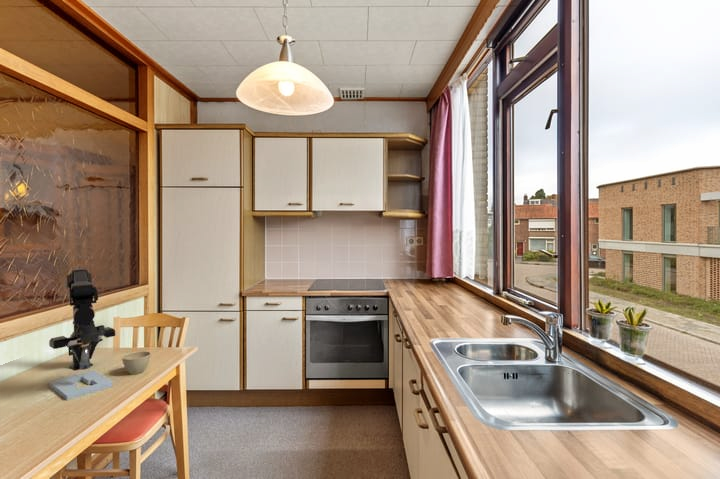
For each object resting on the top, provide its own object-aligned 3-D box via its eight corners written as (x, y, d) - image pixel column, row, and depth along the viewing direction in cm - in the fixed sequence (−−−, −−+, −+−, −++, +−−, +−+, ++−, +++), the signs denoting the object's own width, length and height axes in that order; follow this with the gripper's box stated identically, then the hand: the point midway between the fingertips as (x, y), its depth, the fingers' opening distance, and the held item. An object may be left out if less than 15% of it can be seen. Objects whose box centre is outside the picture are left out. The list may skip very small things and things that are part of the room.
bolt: (76, 368, 132) (75, 343, 132) (89, 365, 135) (88, 340, 135) (80, 371, 130) (79, 345, 129) (93, 367, 133) (92, 342, 133)
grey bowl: (137, 377, 142) (137, 360, 142) (116, 376, 144) (115, 358, 144) (156, 368, 152) (156, 351, 151) (136, 366, 154) (136, 350, 153)
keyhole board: (49, 386, 135) (49, 381, 135) (93, 373, 146) (93, 369, 146) (67, 400, 123) (67, 395, 123) (113, 385, 135) (113, 381, 135)
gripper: (58, 327, 120) (59, 373, 120) (120, 316, 135) (122, 357, 135) (48, 322, 126) (49, 366, 127) (109, 312, 141) (110, 351, 142)
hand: (84, 360), depth 132 cm, fingers closed on bolt, 3 cm apart
